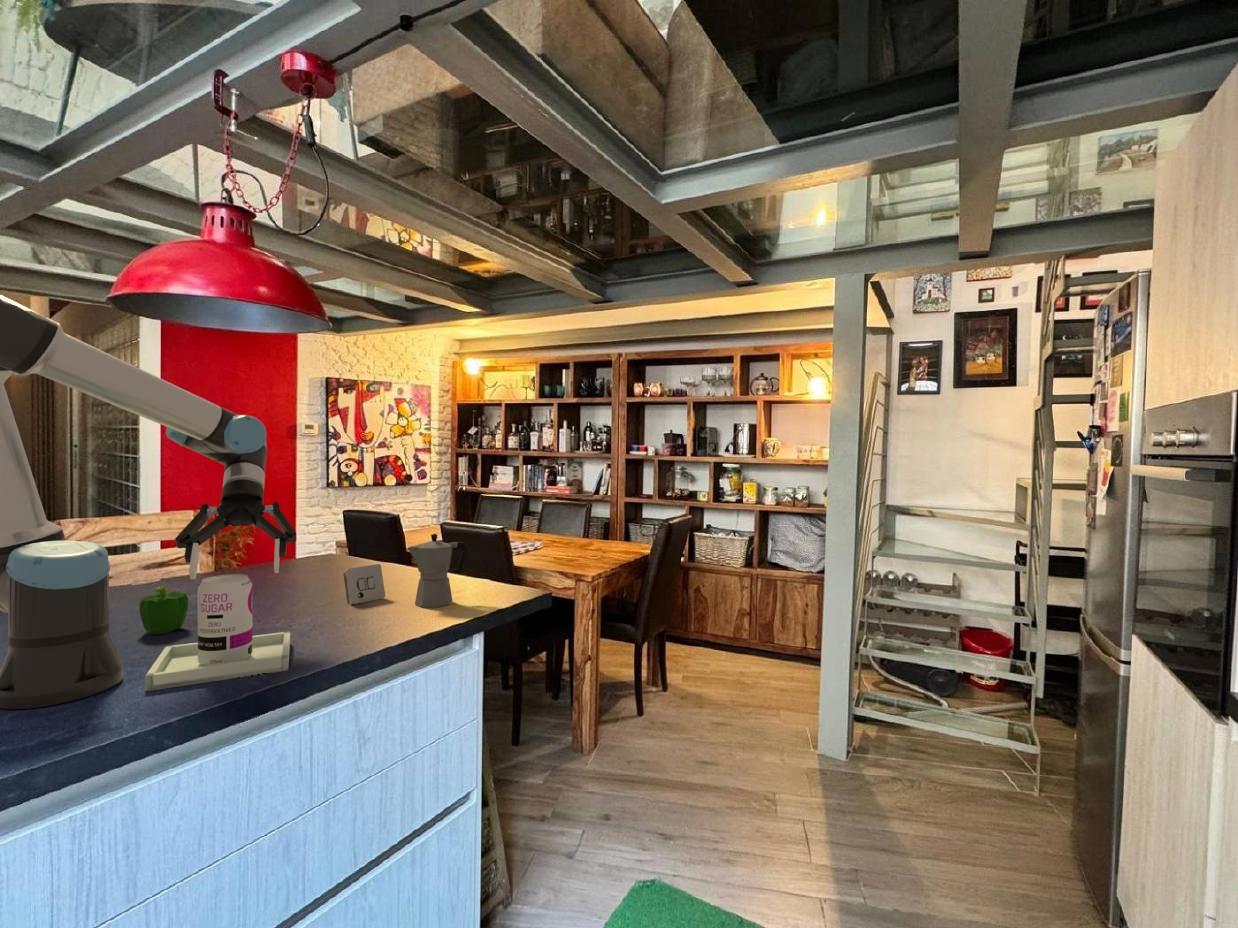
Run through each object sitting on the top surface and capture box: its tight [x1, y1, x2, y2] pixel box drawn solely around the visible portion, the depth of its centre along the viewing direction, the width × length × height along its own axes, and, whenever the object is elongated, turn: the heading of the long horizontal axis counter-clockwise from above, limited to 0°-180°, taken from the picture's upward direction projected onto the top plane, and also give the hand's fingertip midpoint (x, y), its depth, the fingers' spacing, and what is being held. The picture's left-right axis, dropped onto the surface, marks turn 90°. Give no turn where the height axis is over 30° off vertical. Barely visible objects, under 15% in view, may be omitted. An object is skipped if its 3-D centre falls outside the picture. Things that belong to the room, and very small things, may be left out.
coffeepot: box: [406, 533, 470, 609], centre depth 149 cm, size 15×9×18 cm, turn 112°
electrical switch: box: [343, 563, 386, 605], centre depth 151 cm, size 9×5×9 cm, turn 141°
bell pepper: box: [138, 586, 189, 635], centre depth 123 cm, size 8×8×10 cm
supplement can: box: [197, 573, 253, 666], centre depth 104 cm, size 8×8×15 cm
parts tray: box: [144, 631, 291, 692], centre depth 104 cm, size 20×16×2 cm
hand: (235, 572), depth 111 cm, fingers open, 13 cm apart
